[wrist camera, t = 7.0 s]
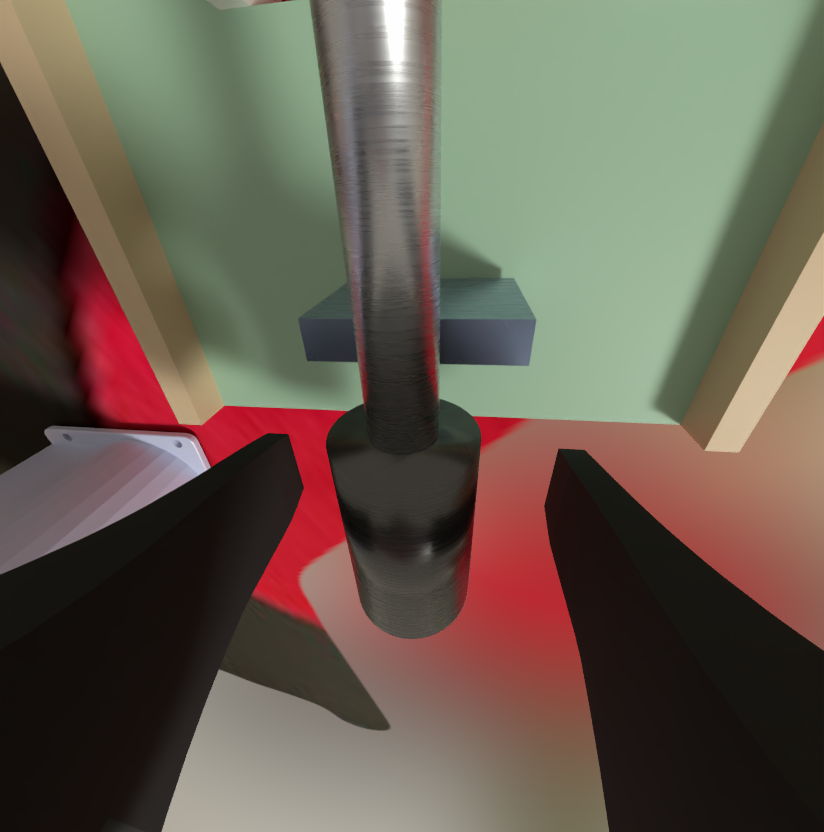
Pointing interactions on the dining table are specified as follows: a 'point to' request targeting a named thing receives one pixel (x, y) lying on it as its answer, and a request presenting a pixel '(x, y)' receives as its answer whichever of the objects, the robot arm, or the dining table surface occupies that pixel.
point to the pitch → (456, 194)
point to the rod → (401, 317)
